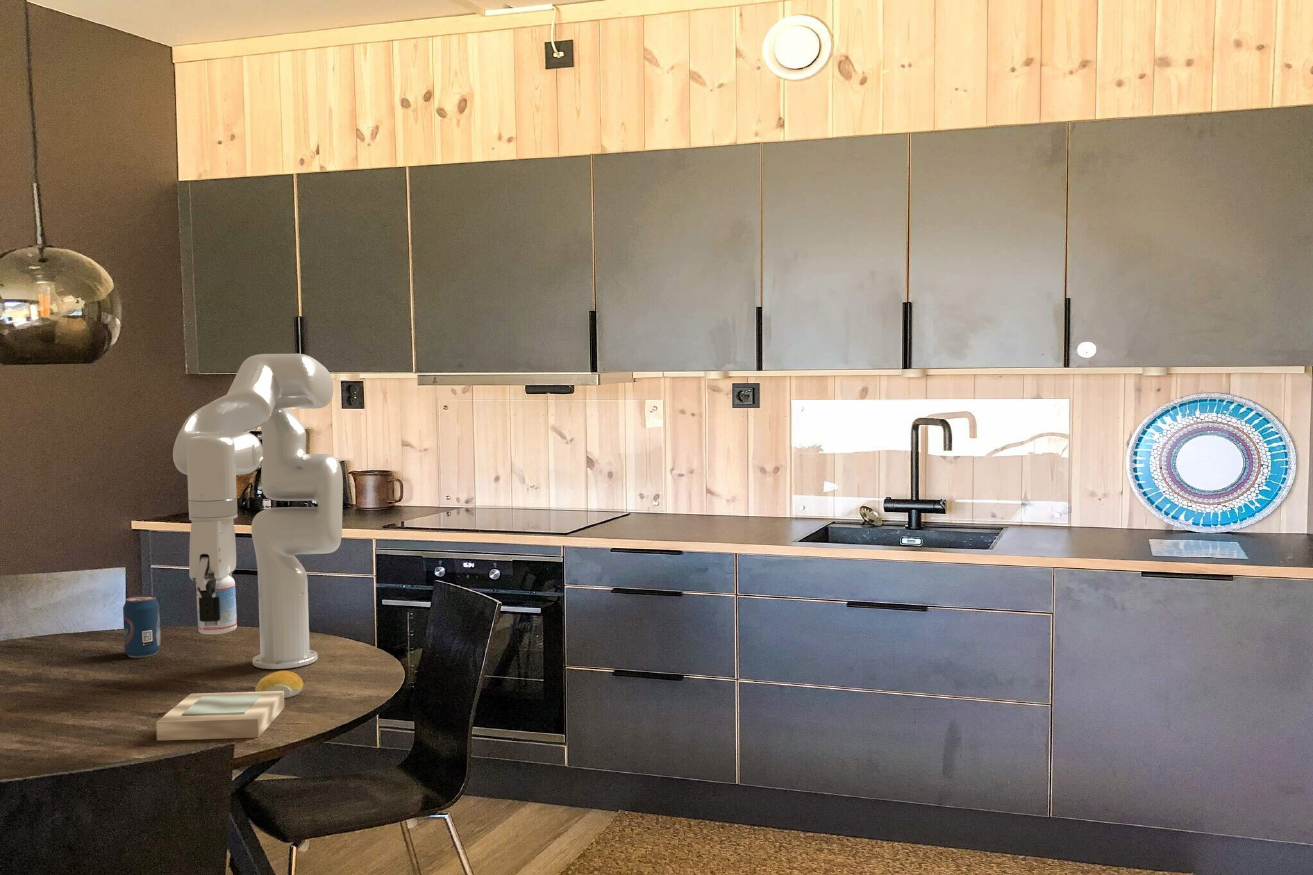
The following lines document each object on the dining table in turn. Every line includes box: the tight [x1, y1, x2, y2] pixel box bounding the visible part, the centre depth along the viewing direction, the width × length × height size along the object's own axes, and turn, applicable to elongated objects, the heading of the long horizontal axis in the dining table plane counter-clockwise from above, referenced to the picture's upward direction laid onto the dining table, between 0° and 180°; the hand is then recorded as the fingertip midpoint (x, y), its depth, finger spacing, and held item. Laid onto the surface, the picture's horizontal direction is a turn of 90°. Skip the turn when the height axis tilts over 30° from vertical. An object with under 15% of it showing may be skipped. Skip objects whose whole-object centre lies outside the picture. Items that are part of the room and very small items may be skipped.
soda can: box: [122, 594, 162, 659], centre depth 236 cm, size 7×7×12 cm
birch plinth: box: [155, 691, 285, 741], centre depth 189 cm, size 16×16×3 cm
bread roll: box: [254, 670, 304, 699], centre depth 207 cm, size 8×9×4 cm
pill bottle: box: [195, 566, 238, 635], centre depth 188 cm, size 6×6×11 cm
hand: (217, 615), depth 188 cm, fingers closed on pill bottle, 6 cm apart
